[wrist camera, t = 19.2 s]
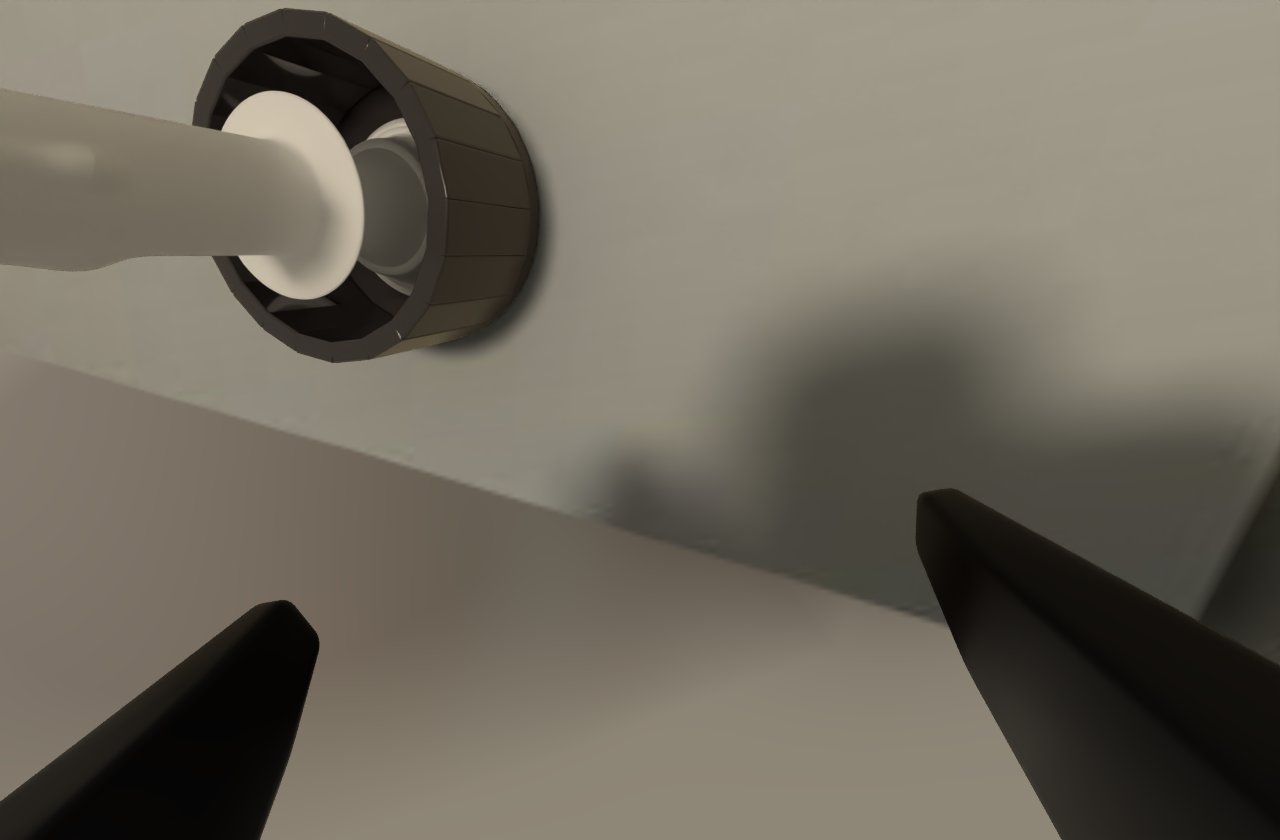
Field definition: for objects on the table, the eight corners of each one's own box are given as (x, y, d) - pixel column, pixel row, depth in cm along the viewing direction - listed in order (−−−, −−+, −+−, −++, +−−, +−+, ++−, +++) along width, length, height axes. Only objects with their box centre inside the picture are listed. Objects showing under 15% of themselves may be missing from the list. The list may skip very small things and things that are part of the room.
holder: (560, 326, 18) (478, 348, 14) (360, 349, 21) (244, 372, 17) (511, 31, 16) (399, -43, 12) (298, 102, 19) (149, 61, 15)
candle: (488, 310, 18) (-45, 399, 7) (355, 284, 20) (-257, 324, 9) (496, 126, 16) (-192, -123, 5) (350, 111, 18) (-427, -109, 7)
